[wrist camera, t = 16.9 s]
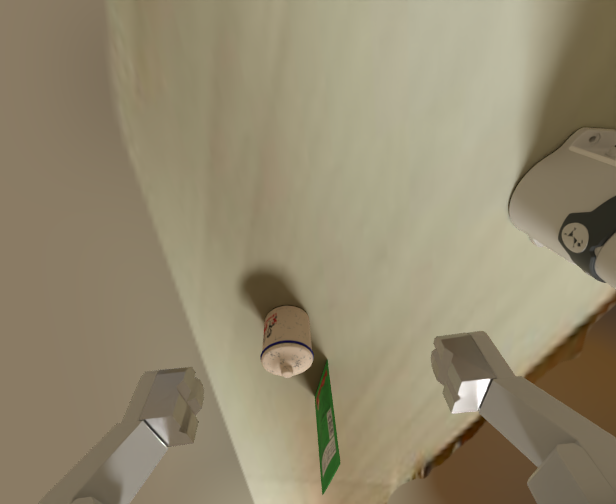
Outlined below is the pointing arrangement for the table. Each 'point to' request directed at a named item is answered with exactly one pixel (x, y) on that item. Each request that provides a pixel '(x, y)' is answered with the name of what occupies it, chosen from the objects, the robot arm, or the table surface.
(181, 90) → the table surface
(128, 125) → the table surface
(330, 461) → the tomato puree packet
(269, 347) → the teacup with lid
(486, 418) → the robot arm
